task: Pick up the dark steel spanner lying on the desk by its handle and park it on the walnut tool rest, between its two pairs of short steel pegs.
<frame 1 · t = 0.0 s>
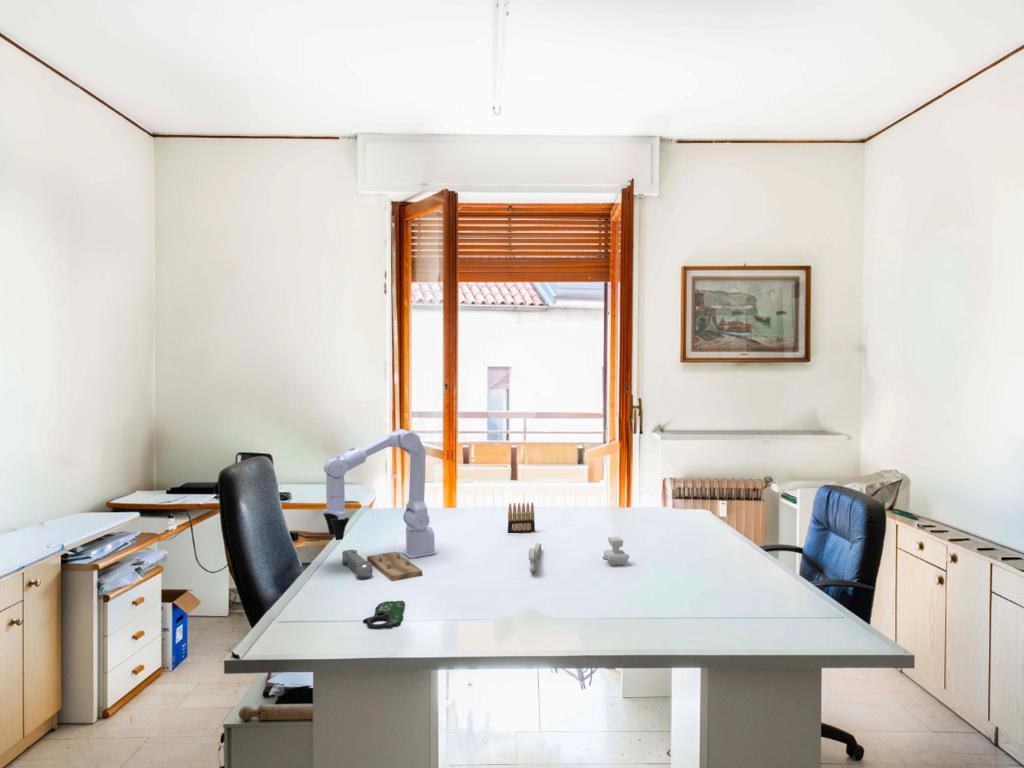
hand: (336, 536, 205), 10 cm above the table, tool pointing down, fingers open, 7 cm apart
tool rest: (393, 567, 205), on the table
ammunition clip: (521, 533, 247), on the table
stamp: (615, 564, 207), on the table
spanner: (356, 570, 202), on the table
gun: (384, 618, 165), on the table
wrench: (535, 564, 209), on the table
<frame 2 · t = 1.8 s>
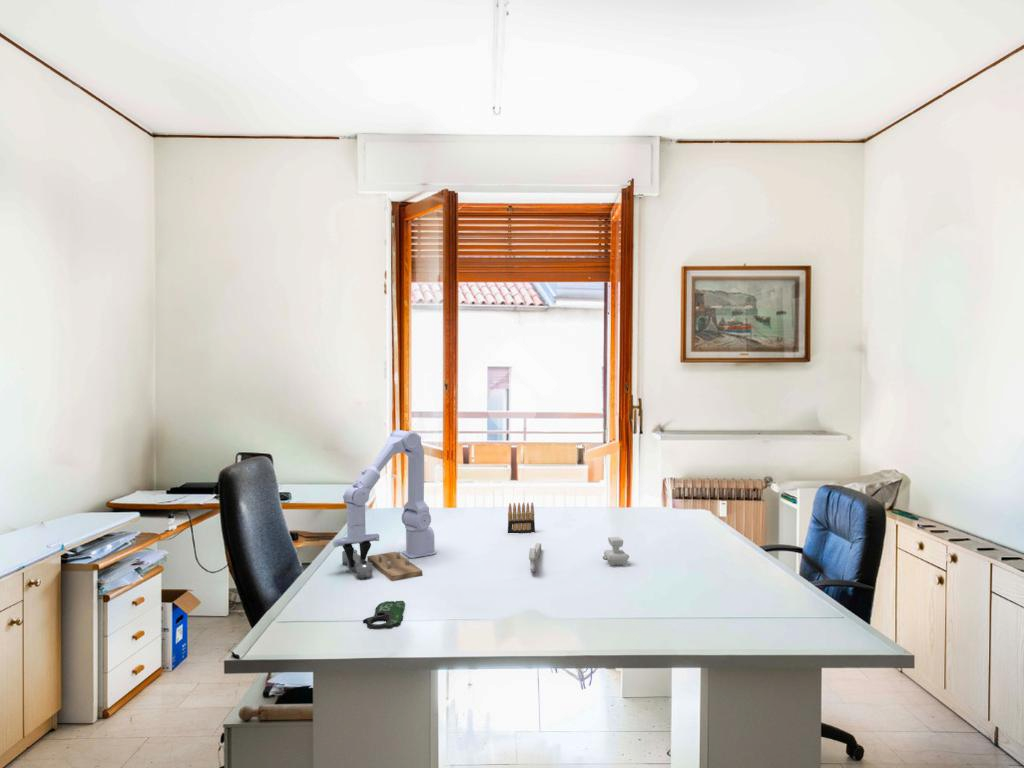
hand: (356, 565, 202), 1 cm above the table, tool pointing down, fingers closed on spanner, 3 cm apart
spanner: (356, 570, 202), on the table, touching gripper
everything else where it was.
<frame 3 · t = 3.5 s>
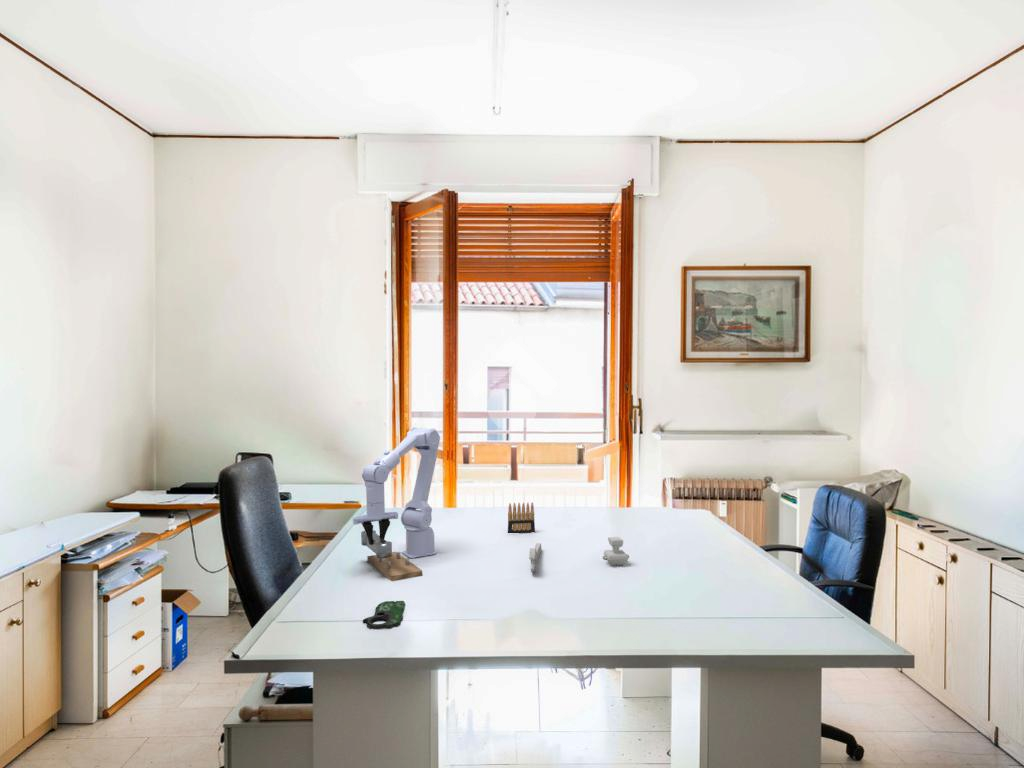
hand: (376, 543, 204), 8 cm above the table, tool pointing down, fingers closed on spanner, 3 cm apart
spanner: (376, 549, 204), point 6 cm above the table, touching gripper
everything else where it was.
when the fingers open (4 cm above the table, at t = 5.3 s): spanner stays where it is, resting on tool rest.
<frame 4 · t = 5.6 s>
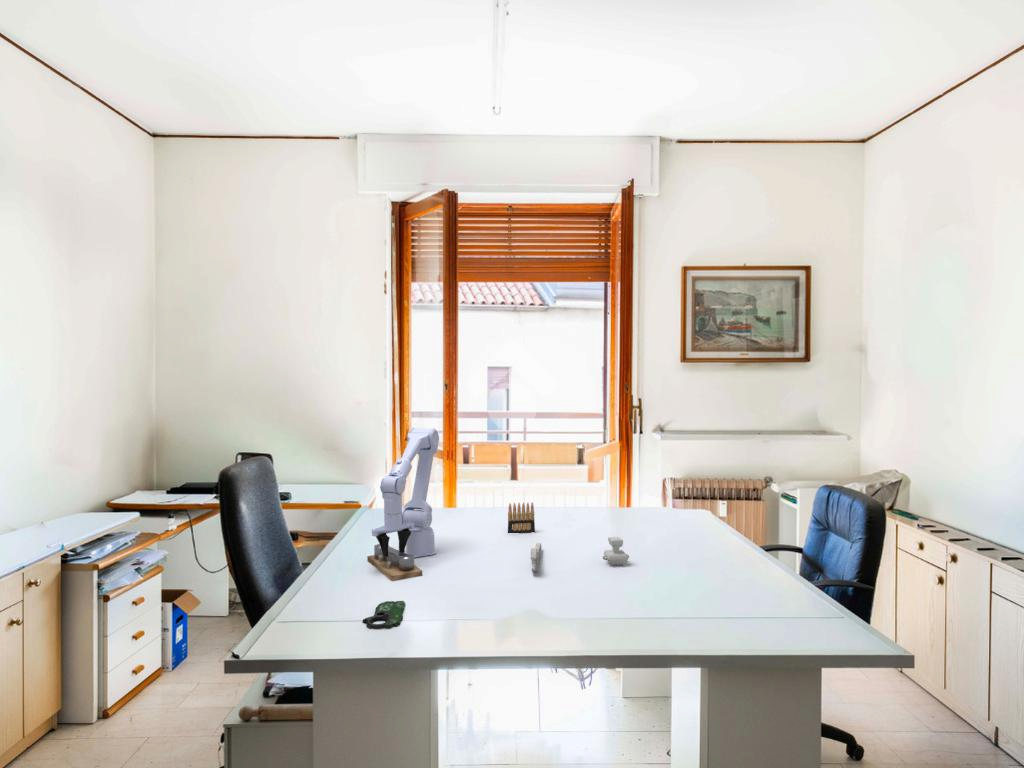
hand: (393, 554, 205), 4 cm above the table, tool pointing down, fingers open, 5 cm apart
spanner: (393, 563, 205), point 1 cm above the table, touching tool rest
everything else where it was.
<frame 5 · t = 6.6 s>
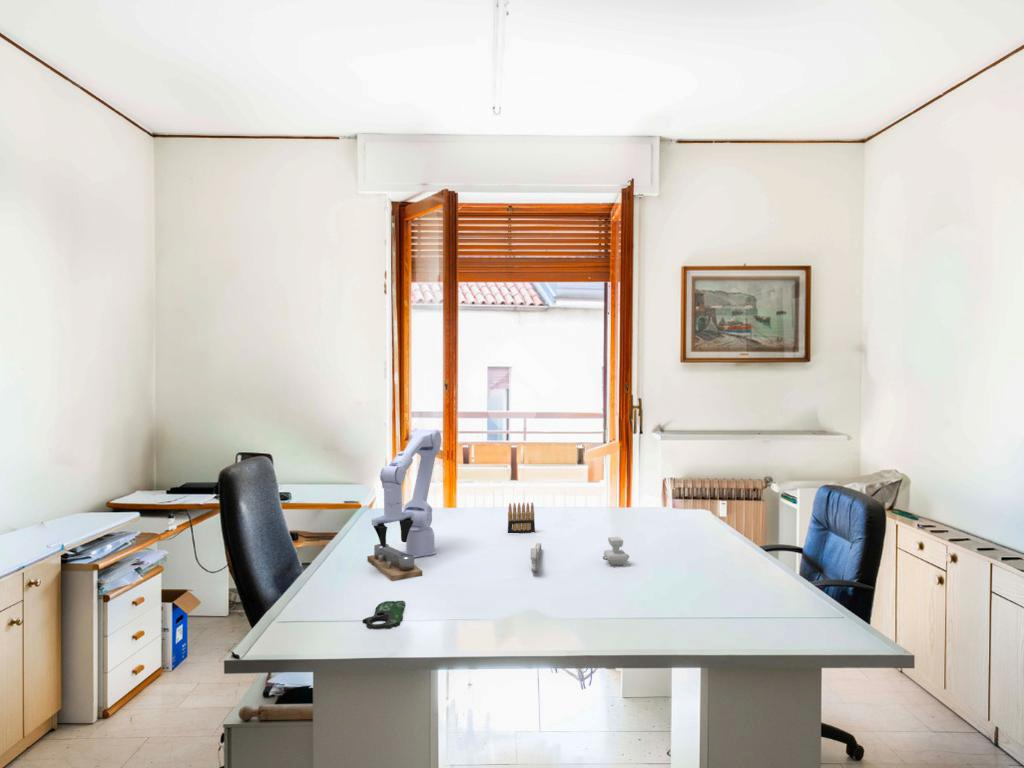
hand: (393, 543, 204), 8 cm above the table, tool pointing down, fingers open, 7 cm apart
nothing on the table moved.
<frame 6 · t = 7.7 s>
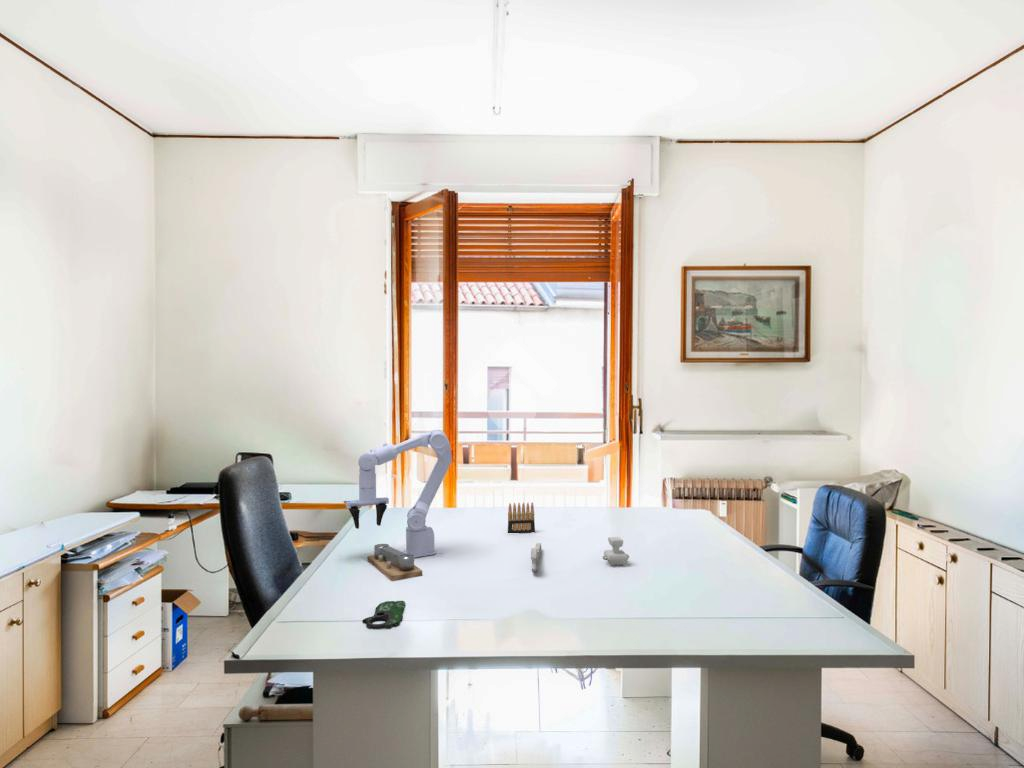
hand: (367, 526, 217), 10 cm above the table, tool pointing down, fingers open, 7 cm apart
nothing on the table moved.
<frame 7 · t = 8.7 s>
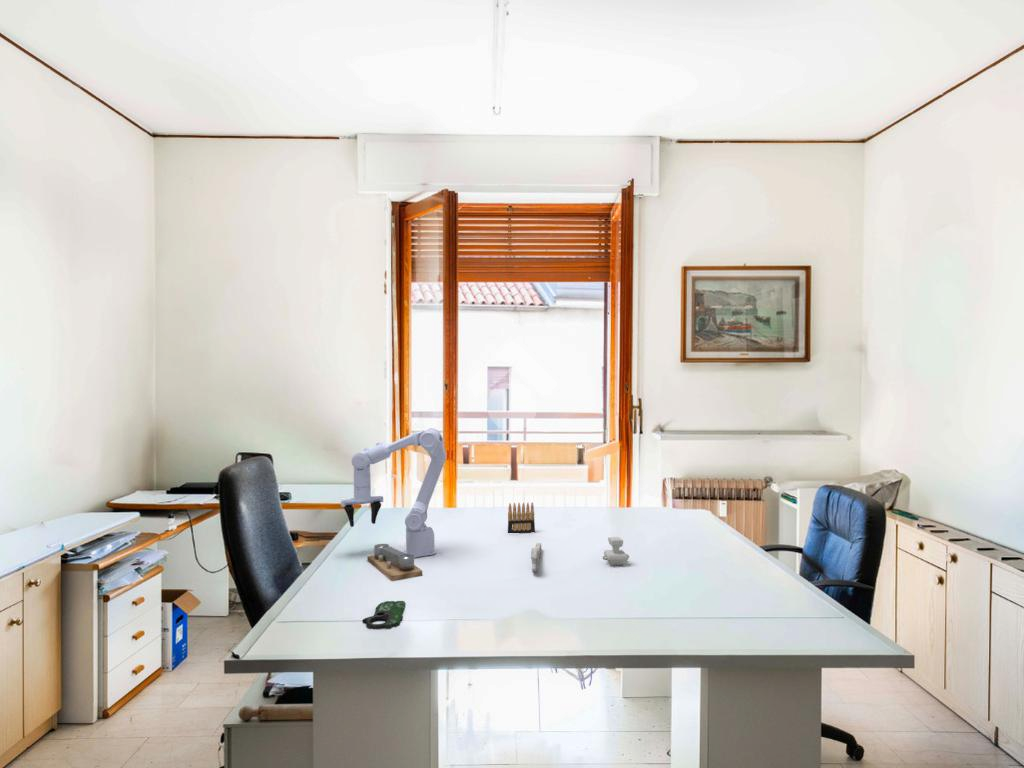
hand: (362, 524, 220), 10 cm above the table, tool pointing down, fingers open, 7 cm apart
nothing on the table moved.
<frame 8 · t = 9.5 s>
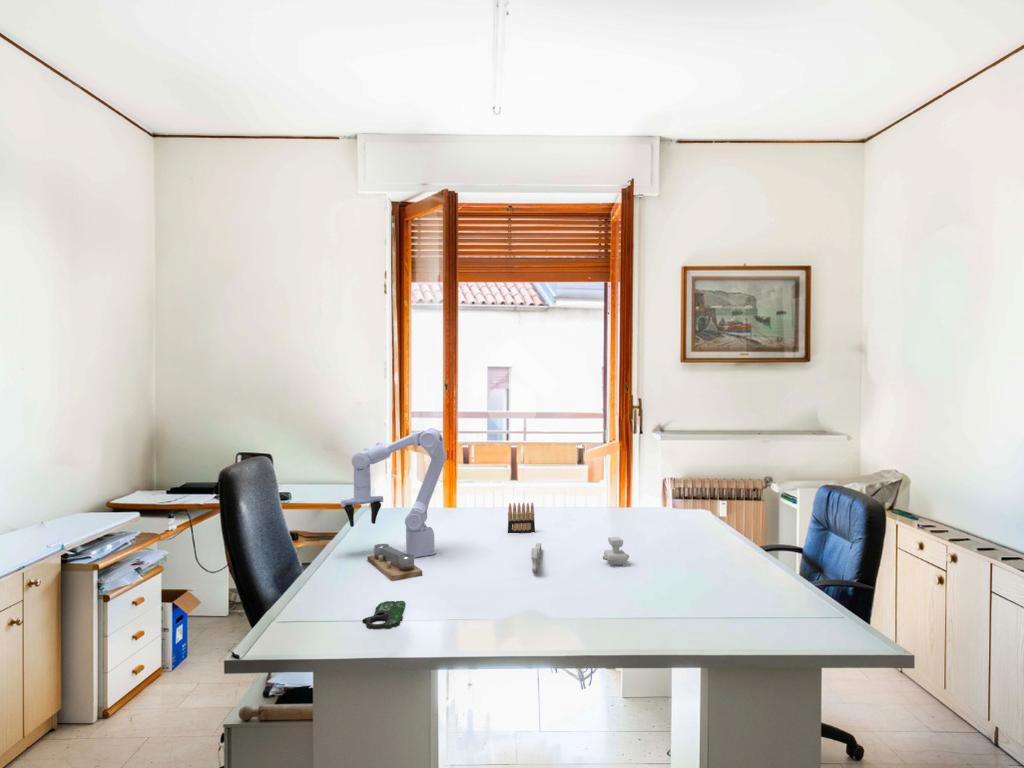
hand: (362, 524, 220), 10 cm above the table, tool pointing down, fingers open, 7 cm apart
nothing on the table moved.
at the end: spanner 0.0 cm off-centre on the tool rest, point 1.5 cm above the tool rest's base; spanner tilted 0°; the gripper is holding nothing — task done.
